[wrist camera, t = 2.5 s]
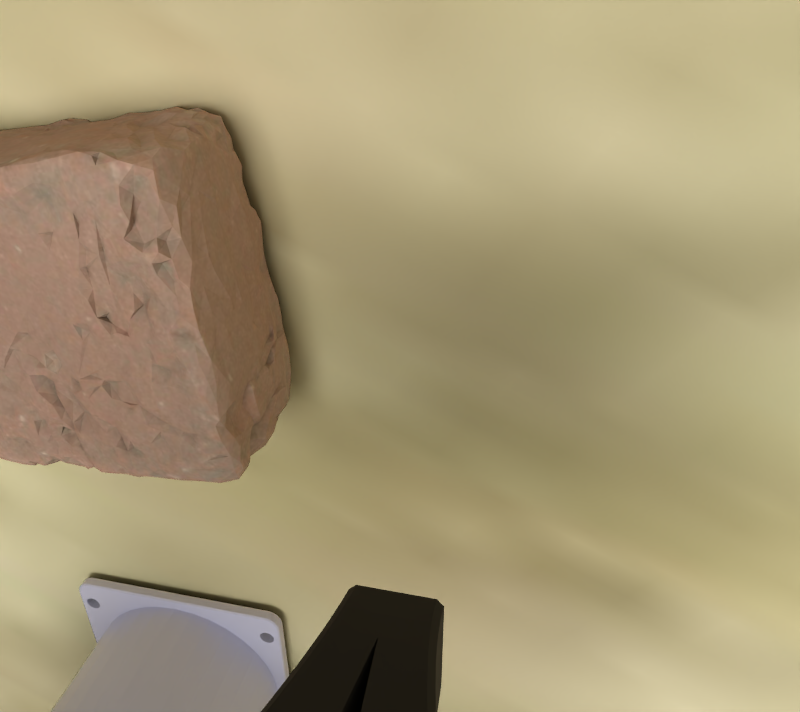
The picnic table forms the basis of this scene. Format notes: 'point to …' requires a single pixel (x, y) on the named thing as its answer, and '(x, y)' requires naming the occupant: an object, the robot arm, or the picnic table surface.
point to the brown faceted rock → (135, 300)
